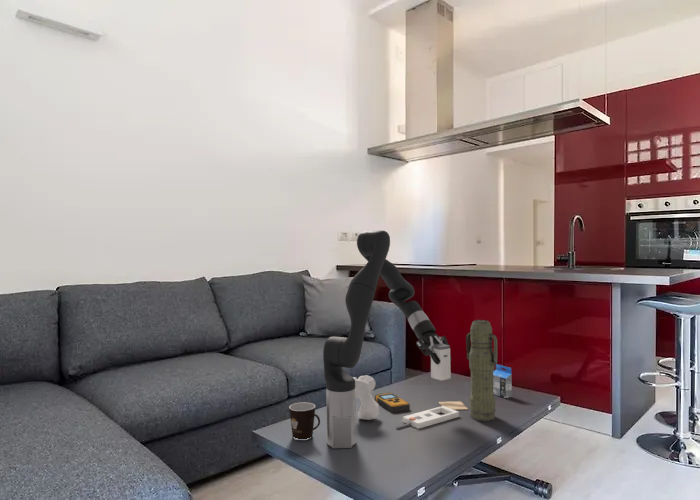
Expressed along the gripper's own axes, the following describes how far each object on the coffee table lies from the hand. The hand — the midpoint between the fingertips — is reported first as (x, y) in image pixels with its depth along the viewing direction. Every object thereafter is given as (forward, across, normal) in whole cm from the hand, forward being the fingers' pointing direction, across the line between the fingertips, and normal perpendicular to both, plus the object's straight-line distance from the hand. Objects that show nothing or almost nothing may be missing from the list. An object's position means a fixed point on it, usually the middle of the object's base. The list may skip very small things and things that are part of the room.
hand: (444, 362), depth 163 cm
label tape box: (+11, +38, +18) cm, 43 cm away
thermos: (+20, +11, +9) cm, 24 cm away
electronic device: (0, -7, +30) cm, 31 cm away
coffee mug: (+6, -51, +23) cm, 57 cm away
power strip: (+13, -8, +15) cm, 22 cm away
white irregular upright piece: (+3, -25, +26) cm, 36 cm away
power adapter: (+3, 0, +6) cm, 6 cm away
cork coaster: (+9, +11, +19) cm, 24 cm away
